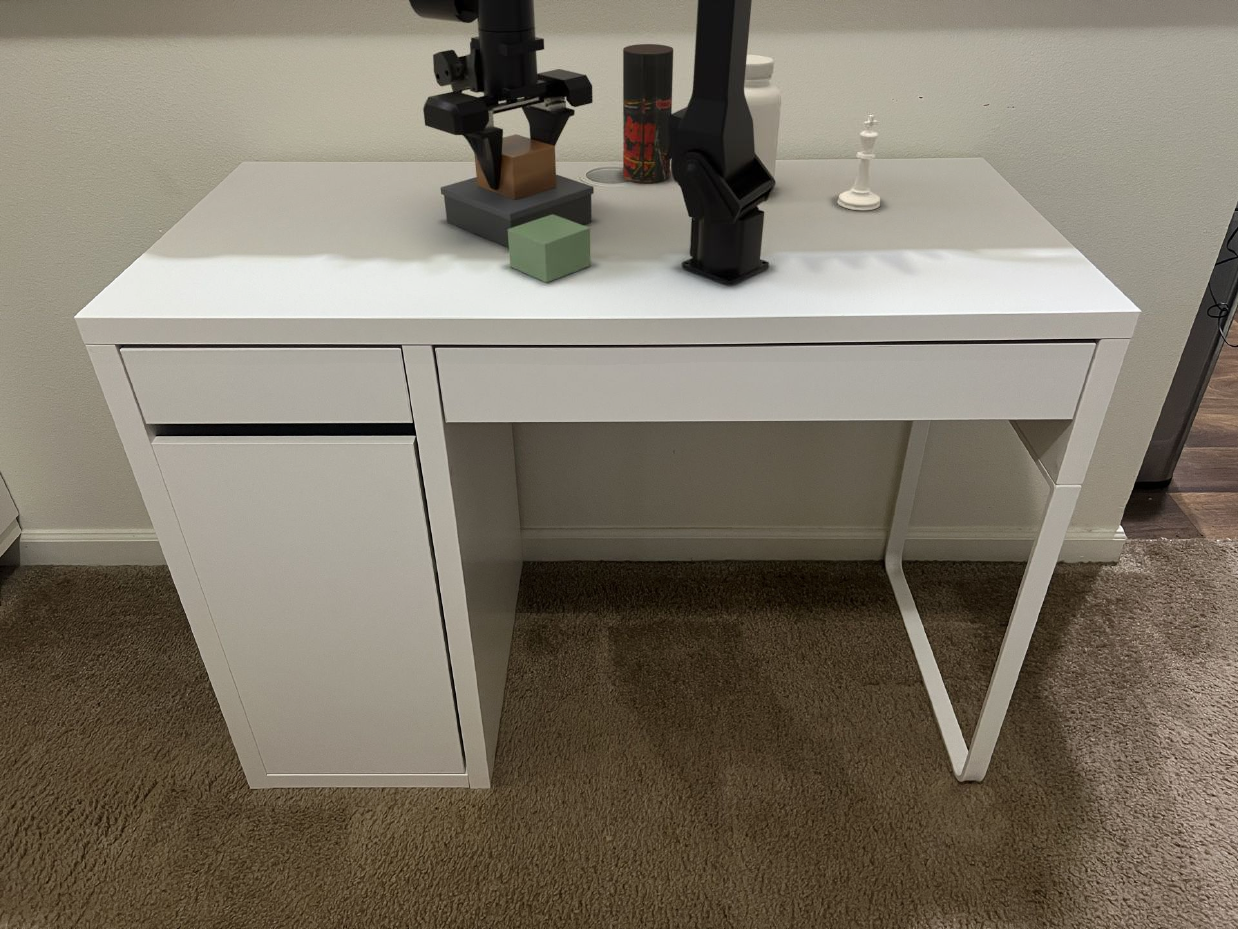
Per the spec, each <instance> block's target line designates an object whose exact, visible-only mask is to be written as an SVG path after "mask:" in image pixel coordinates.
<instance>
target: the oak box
mask: <svg viewBox="0 0 1238 929" xmlns="http://www.w3.org/2000/svg"><path fill="white" fill-rule="evenodd" d="M473 154H474V164H475V176H476V177H477V186H478V187H481V188H483V189H486V190H489V191H492V192H494V193H497V194H500V195H503V196H505V197H508V198H511V199H513V200H517V199H520V198H523V197H526V196H530V195H533V194H536V193H539V192H542V191H545V190H549V189H552V188H555V187H557V186H556V175H557V166H556V145H555V146H553V145H550V144H547V143H543V142H540V141H537V140H533V139H530V137H527V136H524V135H520V134H516V133H515V134H512V135H507V136H503V142H502V160H501V177H500V183H499V189H497V190H494V189H491V188H490V187H489V184H488V182H487V180H486V178H485V175H484V173H483V171H482V169H481V167H480V164H479V162H478V160H477V158H476V155H475V153H474V152H473Z"/></svg>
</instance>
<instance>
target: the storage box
mask: <svg viewBox="0 0 1238 929" xmlns="http://www.w3.org/2000/svg"><path fill="white" fill-rule="evenodd" d="M556 186H557V187H555V188H552V189H549V190H545V191H542V192H539V193H536V194H533V195H530V196H526V197H523V198H520V199H517V200H513V199H511V198H508V197H505V196H503V195H500V194H497V193H494V192H492V191H489V190H486V189H483V188H481V187H478V186H477V176H476V177H472V178H468V179H465V180H461V181H458V182H454V183H450V184H448V185H444V186H440V195H443V199H444V208H445V216H446V223H448V224H451V225H453V226H455V227H458V228H460V229H463V230H464V231H467V232H470V233H472V234H475V235H477V236H480V237H482V238H484V239H487V240H489V241H491V242H494V243H497V244H499V245H500V246H504V247H506V248H508V249H509V241H508V229H510V228H513V227H516V226H519V225H522V224H525V223H528V222H531V221H534V220H537V219H540V218H543V217H546V216H549V215H552V214H553V215H556V216H559V217H561V218H564V219H567V220H570V221H572V222H575V223H578V224H580V225H583V226H584V225H586V224H588V223H591V222H592V221H593V219H592V218H593V217H592V195H593V194H594V193H595V191H594V190H595V189H594V188H595V187H594V186H593V185H589V184H587V183H584V182H580V181H578V180H574V179H571V178H568V177H565V176H562V175H559V174H556Z"/></svg>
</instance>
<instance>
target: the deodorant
mask: <svg viewBox="0 0 1238 929" xmlns="http://www.w3.org/2000/svg"><path fill="white" fill-rule="evenodd" d="M673 74H674V47H672V46H669V45H665V44H657V43H640V44H631V45H627V46H625V47H623V48H622V117H623V118H622V145H623V146H622V153H623V154H622V158H623V159H622V160H623V162H622V176H623V178H624V179H625V180H627V181H628V182H632V183H637V184H656V183H657V184H658V183H662V182H665V181H666V180H669V179H670V177H671V159H669V160H665V156H666V154H667V151H668V147H669V132H668V120H669V115H670V114H673V110H672V108H673V79H674V78H673V76H674V75H673Z"/></svg>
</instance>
